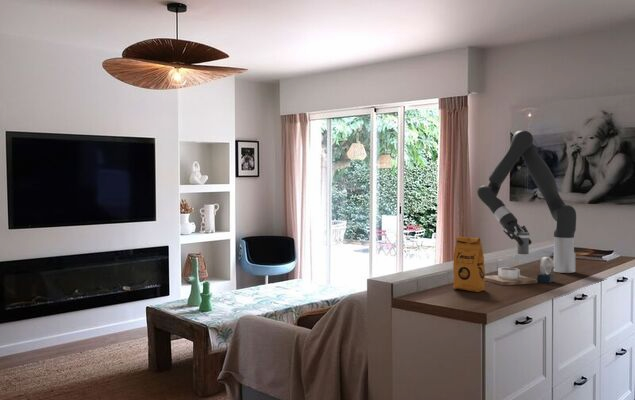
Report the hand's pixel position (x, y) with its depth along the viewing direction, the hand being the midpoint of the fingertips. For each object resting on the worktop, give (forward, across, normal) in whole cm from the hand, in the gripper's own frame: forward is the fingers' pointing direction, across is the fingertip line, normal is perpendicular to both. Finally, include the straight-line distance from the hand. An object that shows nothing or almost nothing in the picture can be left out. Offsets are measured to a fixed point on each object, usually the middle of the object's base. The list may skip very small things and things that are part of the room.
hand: (526, 244), depth 270 cm
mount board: (+14, -17, +8) cm, 23 cm away
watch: (+20, -4, +2) cm, 21 cm away
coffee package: (+17, -48, +5) cm, 51 cm away
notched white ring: (+12, -17, +7) cm, 22 cm away
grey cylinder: (+2, 0, +5) cm, 5 cm away
